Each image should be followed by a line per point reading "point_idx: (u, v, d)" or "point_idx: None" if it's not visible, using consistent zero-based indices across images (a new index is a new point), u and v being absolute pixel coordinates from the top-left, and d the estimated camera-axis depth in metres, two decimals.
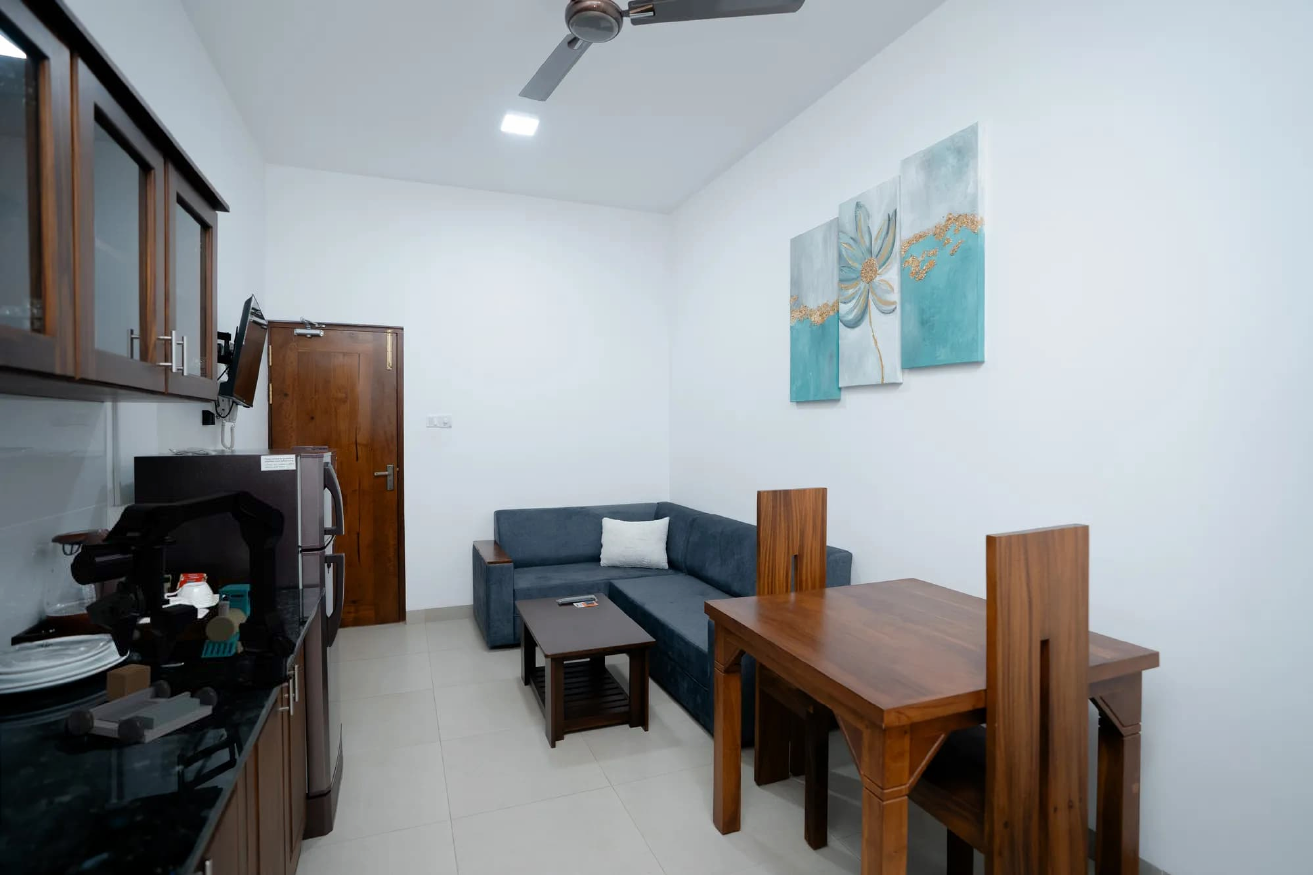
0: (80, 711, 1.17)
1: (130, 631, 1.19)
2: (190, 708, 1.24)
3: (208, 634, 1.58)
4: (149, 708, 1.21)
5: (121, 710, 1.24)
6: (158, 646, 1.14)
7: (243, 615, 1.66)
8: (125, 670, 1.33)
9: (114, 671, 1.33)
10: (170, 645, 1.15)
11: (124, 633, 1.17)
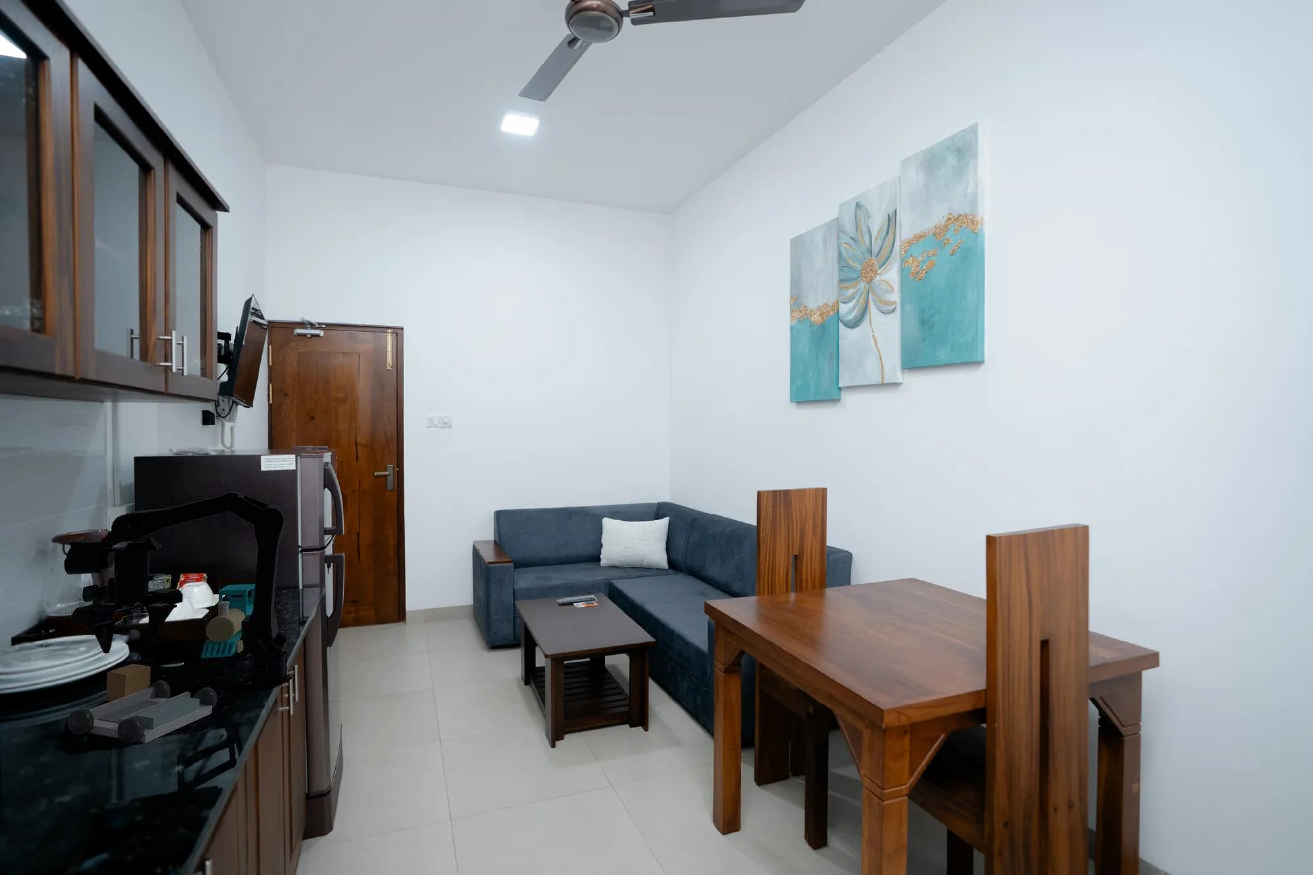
0: (80, 711, 1.17)
1: (158, 620, 1.38)
2: (190, 708, 1.24)
3: (208, 634, 1.58)
4: (149, 708, 1.21)
5: (121, 710, 1.24)
6: None
7: (243, 615, 1.66)
8: (125, 670, 1.33)
9: (114, 671, 1.33)
10: (103, 640, 1.28)
11: (153, 620, 1.38)
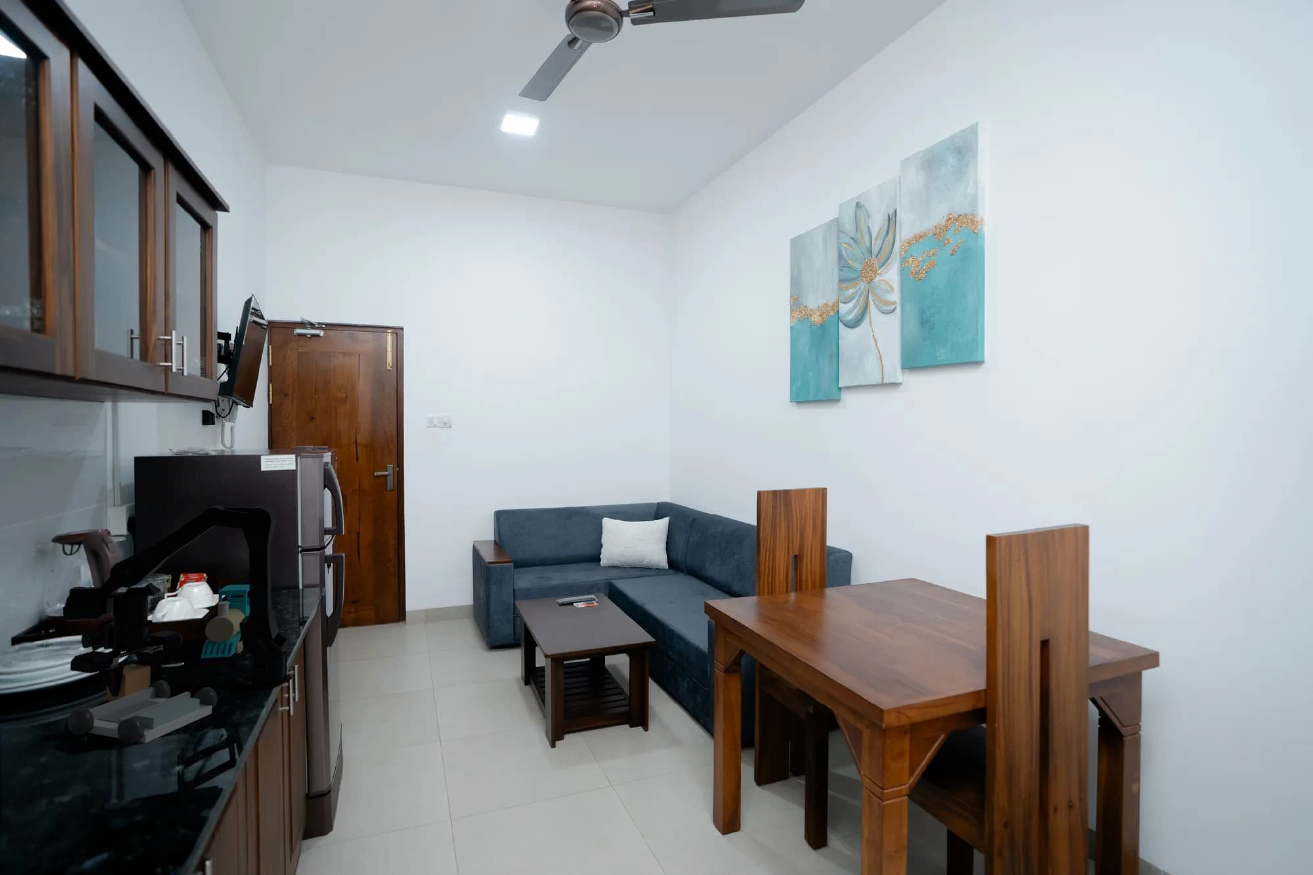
0: (80, 711, 1.17)
1: None
2: (190, 708, 1.24)
3: (208, 634, 1.58)
4: (149, 708, 1.21)
5: (121, 710, 1.24)
6: None
7: (243, 615, 1.66)
8: (125, 670, 1.33)
9: None
10: (112, 684, 1.30)
11: None
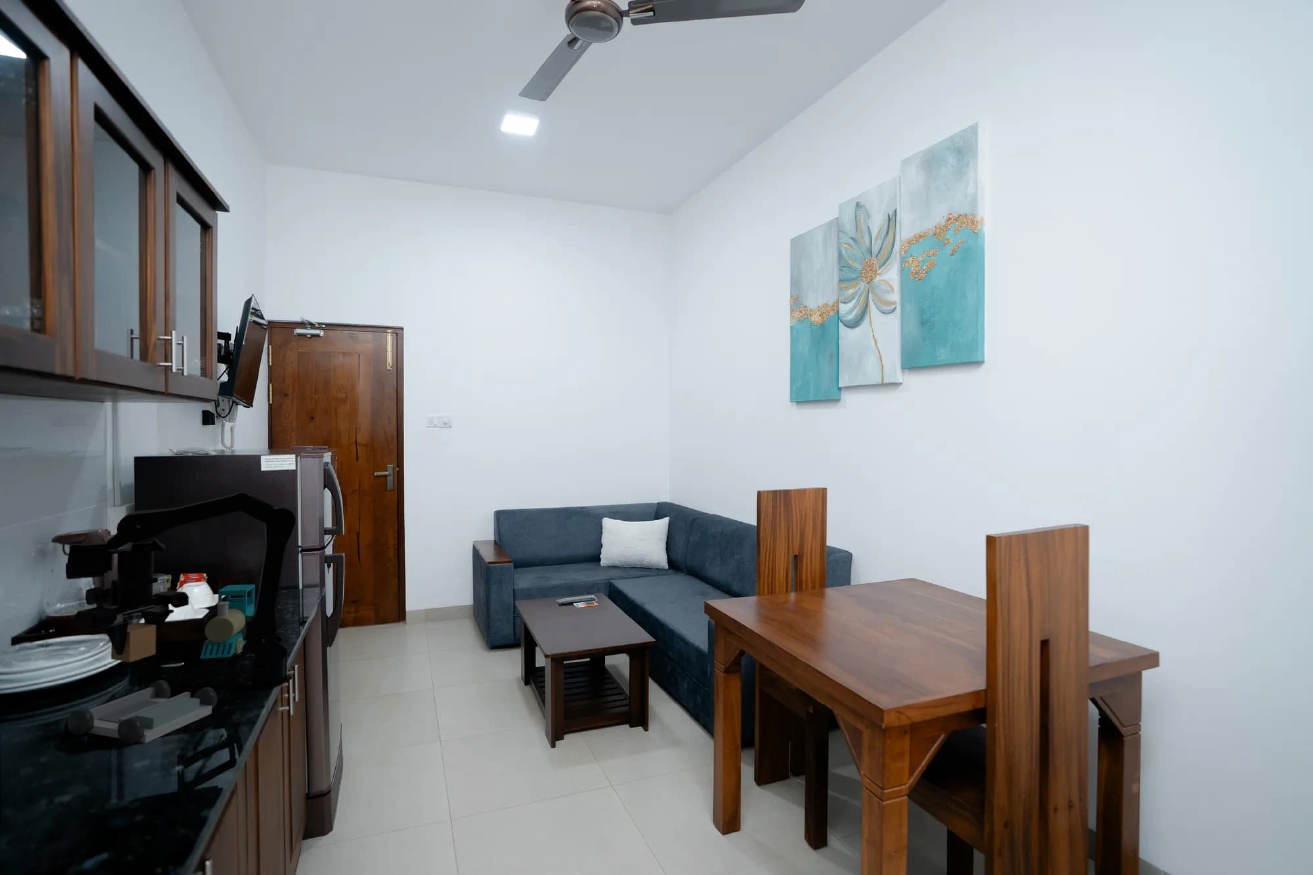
0: (80, 711, 1.17)
1: None
2: (190, 708, 1.24)
3: (207, 635, 1.58)
4: (149, 708, 1.21)
5: (121, 710, 1.24)
6: None
7: (242, 616, 1.66)
8: (130, 628, 1.29)
9: None
10: (116, 642, 1.26)
11: None
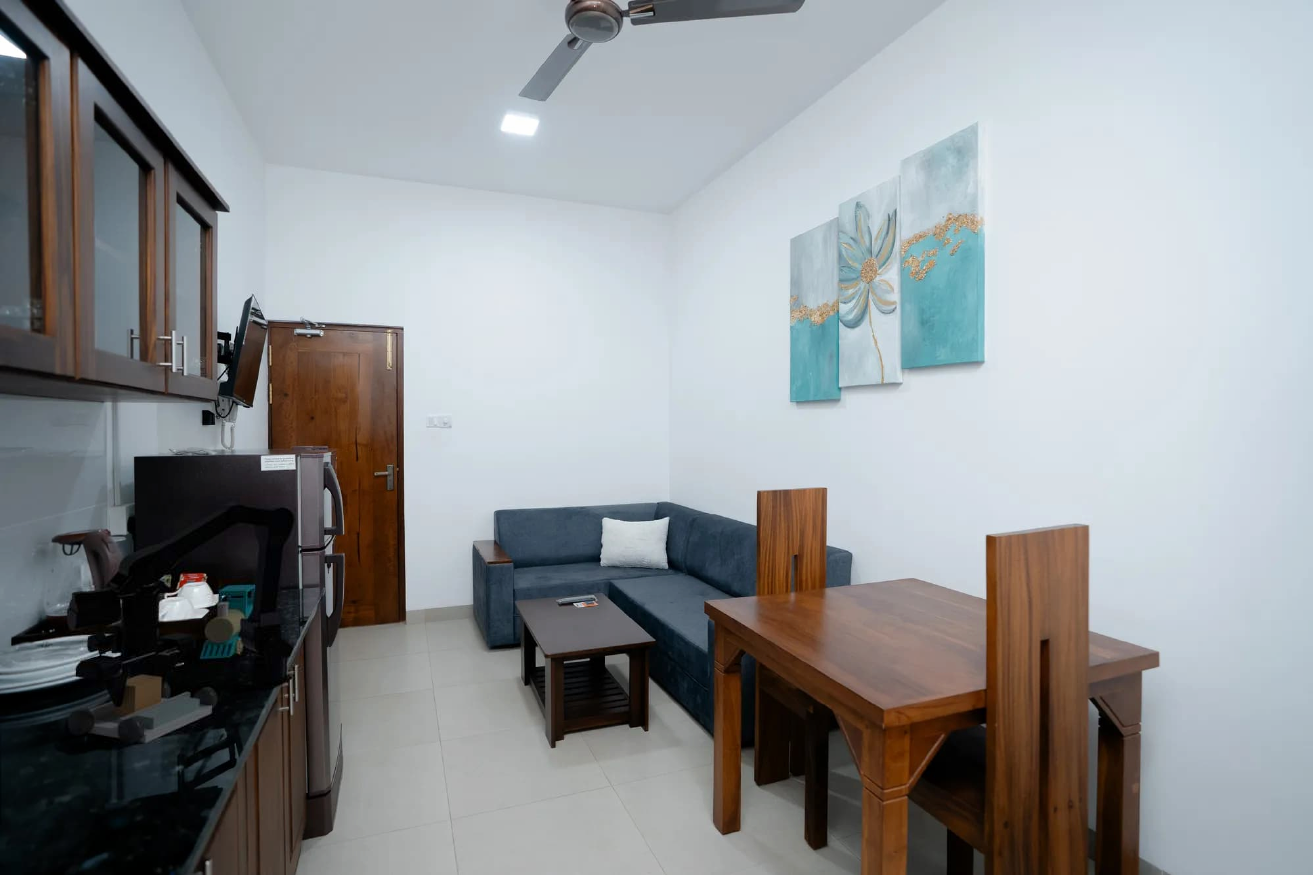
0: (80, 711, 1.17)
1: (164, 671, 1.27)
2: (190, 708, 1.24)
3: (207, 635, 1.57)
4: (149, 708, 1.21)
5: None
6: None
7: (242, 616, 1.66)
8: (134, 681, 1.23)
9: None
10: (114, 693, 1.19)
11: (159, 670, 1.27)
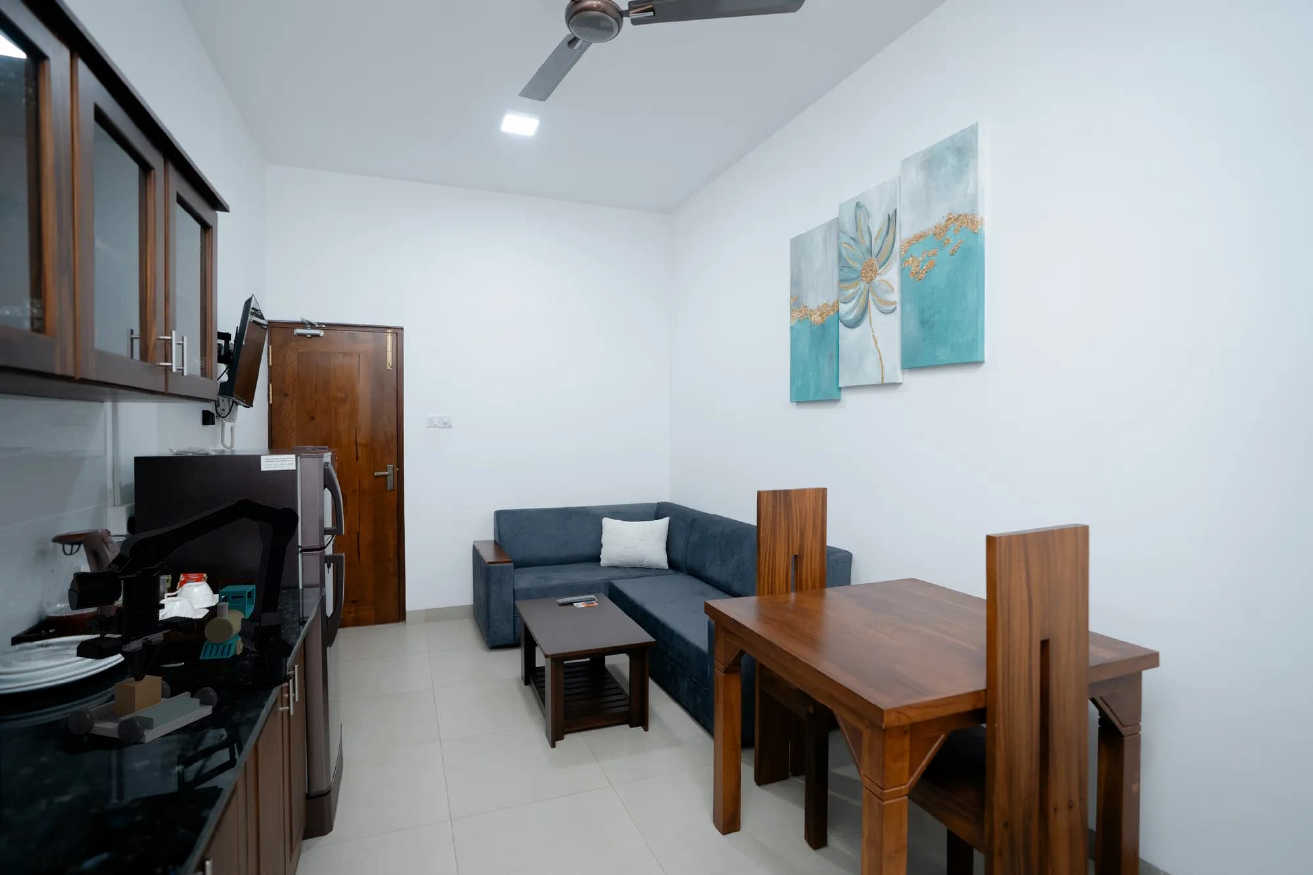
0: (80, 711, 1.17)
1: (147, 659, 1.24)
2: (190, 708, 1.24)
3: (207, 635, 1.57)
4: (149, 708, 1.21)
5: None
6: None
7: (242, 616, 1.65)
8: (134, 681, 1.23)
9: (123, 682, 1.22)
10: (135, 668, 1.22)
11: None
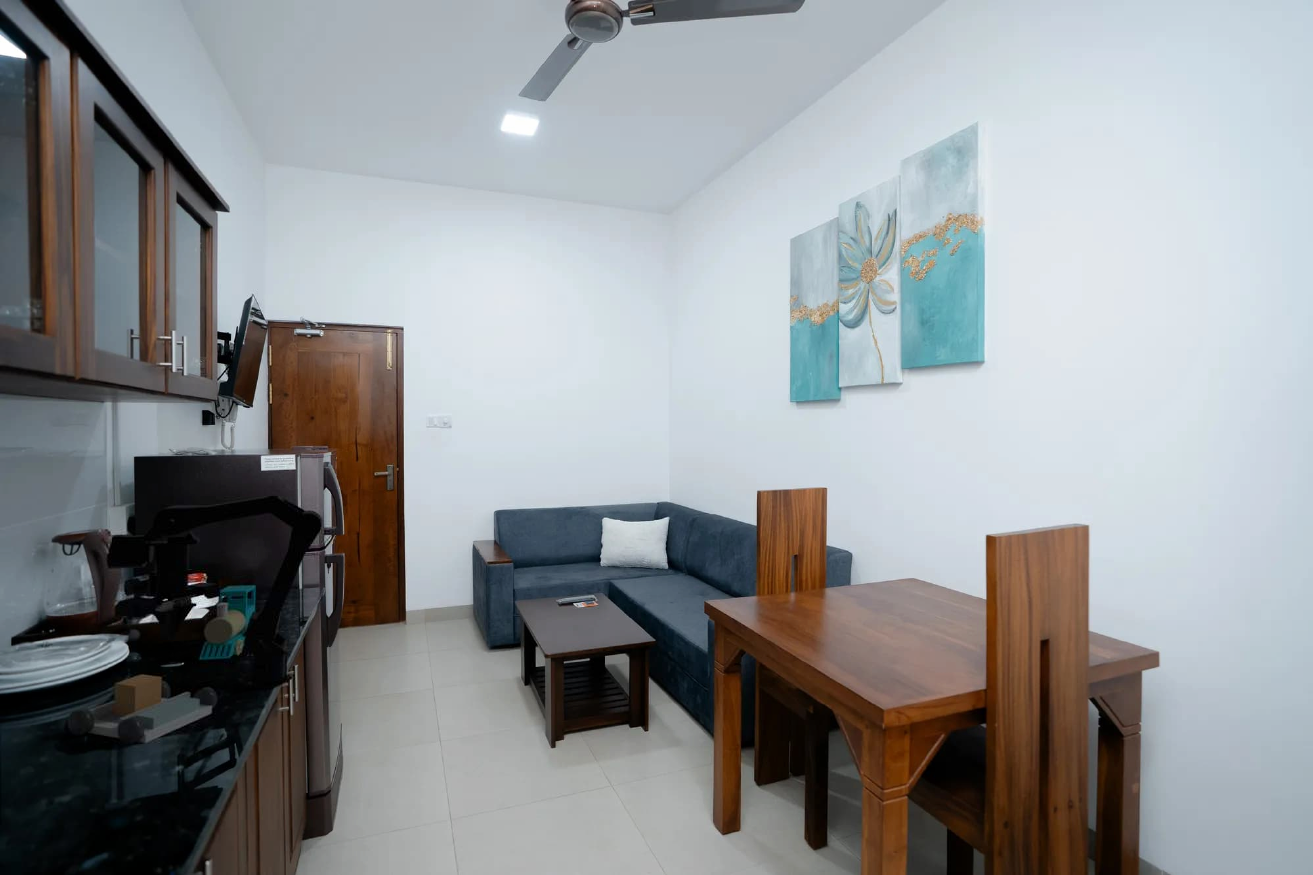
0: (80, 711, 1.17)
1: (177, 619, 1.35)
2: (190, 708, 1.24)
3: (206, 636, 1.57)
4: (149, 708, 1.21)
5: None
6: None
7: (242, 617, 1.65)
8: (134, 681, 1.23)
9: (123, 682, 1.22)
10: (166, 627, 1.34)
11: None
